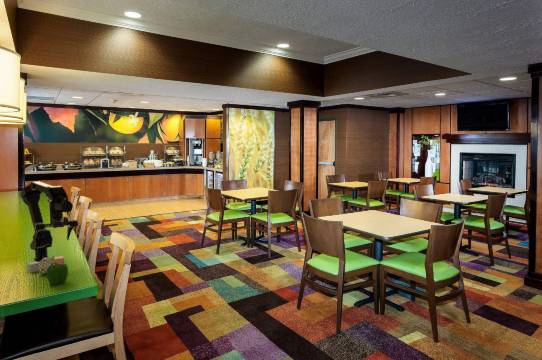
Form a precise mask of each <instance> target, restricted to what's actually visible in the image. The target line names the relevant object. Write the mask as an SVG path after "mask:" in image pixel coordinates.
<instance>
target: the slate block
mask: <svg viewBox="0 0 542 360" xmlns="http://www.w3.org/2000/svg"><path fill="white" fill-rule="evenodd" d="M39 262H40V261H31V262H27V263H26V265H27V266H26V267H27V272H28V273H35V272H41V271H40V269H39V268H38V266H37V265H36V264H38V263H39Z"/></svg>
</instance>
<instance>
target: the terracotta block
mask: <svg viewBox="0 0 542 360" xmlns="http://www.w3.org/2000/svg"><path fill="white" fill-rule="evenodd" d="M53 257H54V260H55V262H57V264H61V265H63V264H65V256H64V255H56V256H51V258H53Z"/></svg>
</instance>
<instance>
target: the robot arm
mask: <svg viewBox="0 0 542 360" xmlns="http://www.w3.org/2000/svg"><path fill="white" fill-rule="evenodd" d="M42 193H43V194H45V197H46V198H48V199H47V202H48V205H49V223H45V222H44V219H43V215H42V211H41V209H40V204H39V202H40V200H41V195H42ZM19 194H20V198H21V200H22V202H23V203H24V204H25V205H26V206H27V208H28V210H29V211H28V212H29V215H30V218H31V223H32V226H33V230H34V232H33V235H32V241H31V242H30V243H29V247H30V250H33V251H34V257H33V260H34V261H33V262H35V261H37V262H40V261H41V260H42V259H43V256H44V258H50V257H49V255H48V248H52V246H53V240H54V239H53V236H52V233H51V230H50V229H47V228H54V229H57V228H64V227H65V226H67V229H66V241H69V239H70V236H71V233H72V231H73V229H75V228H76V227H79V221H78V220H76V219H69V217H68V216H64V215H63V214H64V213H70V212H71V211H72V210H73V207H74V205H73V203H72V201H70V200H69V197H68V194H67V193H66V190H65V188H64V187H63V186H62V185H50V184H48V183H45V182H42V181H38V180H37V181H31V182H30V183H29V184H27V186H24V187H23V188H22V190H21V192H20V193H19Z"/></svg>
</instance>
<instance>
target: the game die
mask: <svg viewBox="0 0 542 360" xmlns="http://www.w3.org/2000/svg"><path fill="white" fill-rule="evenodd" d="M52 257H53V258H52ZM52 257H49V258H44V256H43V259H42V260H41V261H38V262H39V263H38V264H36V265H37V266H38V268H39V269H40V271H39V272H40V274H39V275H42V274H47V269H48V267H49V266H50V265H52V264H51V263H52V262H55V260H54V257H55V256H52ZM53 265H55V264H53Z"/></svg>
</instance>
